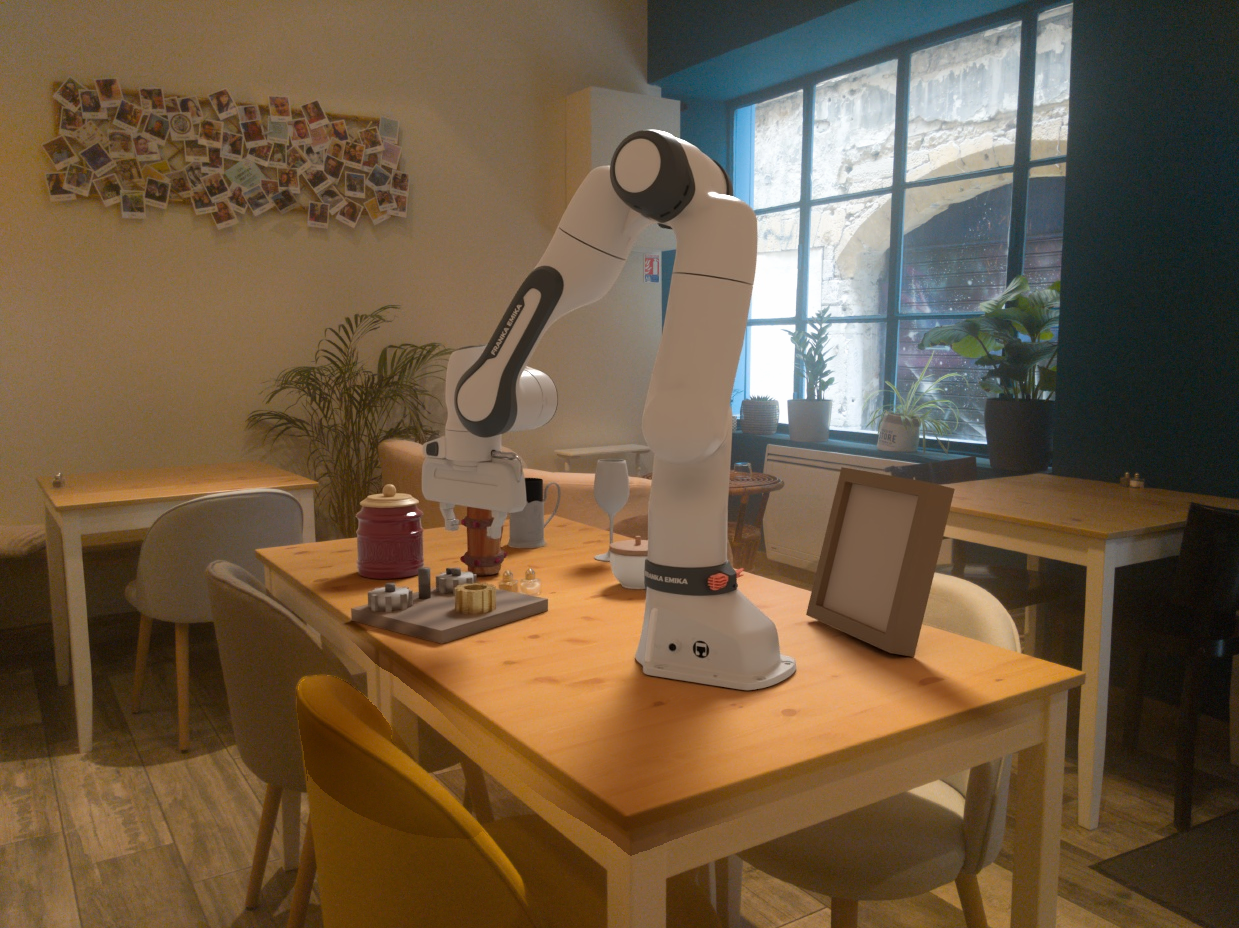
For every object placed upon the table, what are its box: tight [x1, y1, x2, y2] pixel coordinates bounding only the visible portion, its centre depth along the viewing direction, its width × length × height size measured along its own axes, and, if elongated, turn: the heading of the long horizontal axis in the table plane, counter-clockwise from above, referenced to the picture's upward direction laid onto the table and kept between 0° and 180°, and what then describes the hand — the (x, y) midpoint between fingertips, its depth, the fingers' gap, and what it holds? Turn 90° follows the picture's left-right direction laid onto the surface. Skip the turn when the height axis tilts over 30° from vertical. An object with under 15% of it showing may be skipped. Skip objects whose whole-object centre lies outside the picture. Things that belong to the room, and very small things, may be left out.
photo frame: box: [805, 466, 955, 658], centre depth 145 cm, size 15×22×25 cm
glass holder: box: [507, 477, 562, 549], centre depth 218 cm, size 9×14×15 cm, turn 133°
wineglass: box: [593, 458, 630, 563], centre depth 201 cm, size 8×8×21 cm
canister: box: [355, 483, 425, 580], centre depth 186 cm, size 13×13×18 cm
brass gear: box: [455, 582, 497, 614], centre depth 152 cm, size 6×6×4 cm
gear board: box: [350, 566, 549, 644], centre depth 155 cm, size 21×24×7 cm
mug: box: [459, 506, 508, 577], centre depth 188 cm, size 15×8×15 cm, turn 168°
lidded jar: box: [608, 535, 648, 590], centre depth 177 cm, size 11×11×9 cm
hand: (472, 534), depth 151 cm, fingers open, 8 cm apart
